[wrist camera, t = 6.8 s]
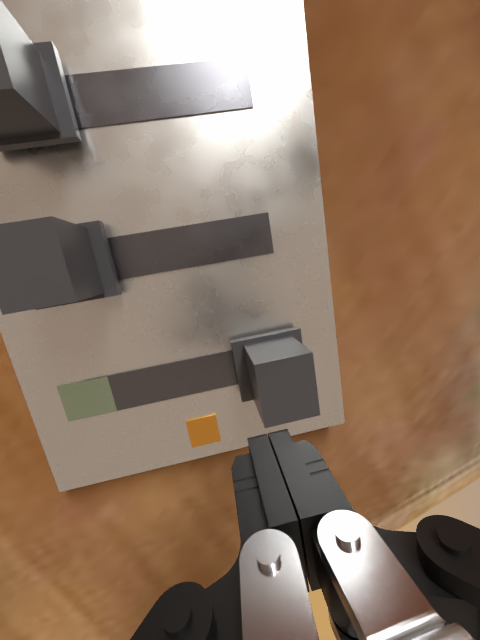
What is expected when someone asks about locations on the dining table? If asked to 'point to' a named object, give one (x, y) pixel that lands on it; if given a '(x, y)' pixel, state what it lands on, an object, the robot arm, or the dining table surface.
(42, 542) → the dining table surface
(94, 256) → the lever middle
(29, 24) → the switch panel
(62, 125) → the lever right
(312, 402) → the lever
